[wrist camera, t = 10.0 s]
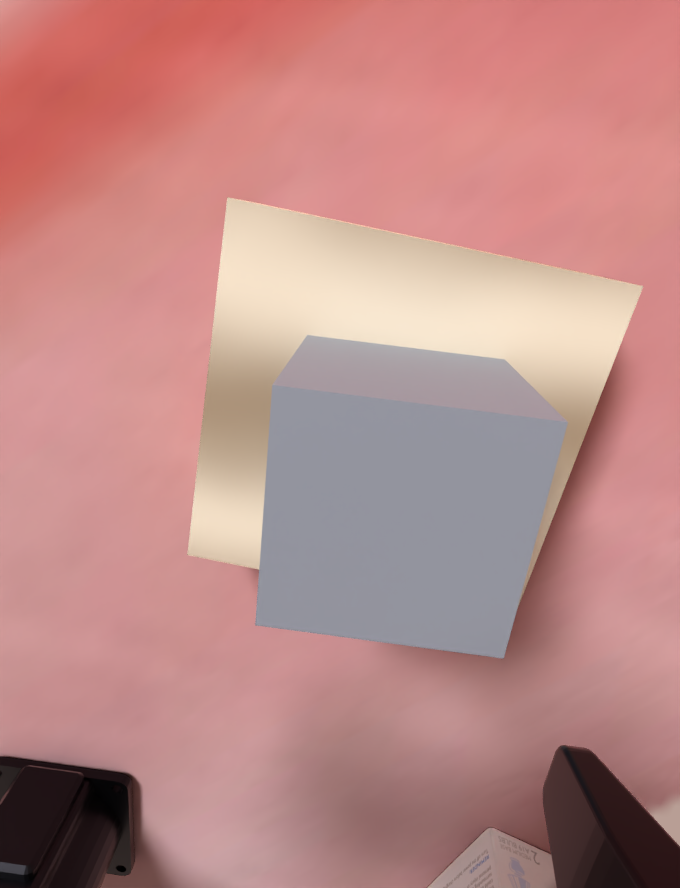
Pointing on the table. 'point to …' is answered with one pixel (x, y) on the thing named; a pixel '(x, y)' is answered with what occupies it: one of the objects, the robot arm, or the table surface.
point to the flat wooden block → (380, 340)
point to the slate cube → (402, 495)
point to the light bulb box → (498, 865)
